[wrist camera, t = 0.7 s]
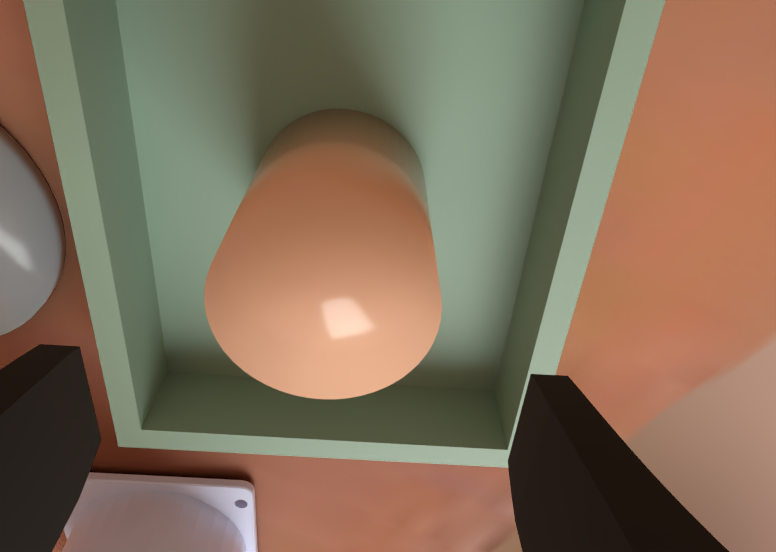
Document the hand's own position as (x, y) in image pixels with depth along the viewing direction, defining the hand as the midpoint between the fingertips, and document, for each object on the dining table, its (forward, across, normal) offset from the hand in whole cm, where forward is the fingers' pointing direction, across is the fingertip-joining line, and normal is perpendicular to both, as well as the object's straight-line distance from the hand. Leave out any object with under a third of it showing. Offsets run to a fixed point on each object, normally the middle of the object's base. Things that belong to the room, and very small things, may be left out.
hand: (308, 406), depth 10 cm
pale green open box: (+9, 0, 0) cm, 9 cm away
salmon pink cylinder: (+9, 0, 0) cm, 9 cm away
